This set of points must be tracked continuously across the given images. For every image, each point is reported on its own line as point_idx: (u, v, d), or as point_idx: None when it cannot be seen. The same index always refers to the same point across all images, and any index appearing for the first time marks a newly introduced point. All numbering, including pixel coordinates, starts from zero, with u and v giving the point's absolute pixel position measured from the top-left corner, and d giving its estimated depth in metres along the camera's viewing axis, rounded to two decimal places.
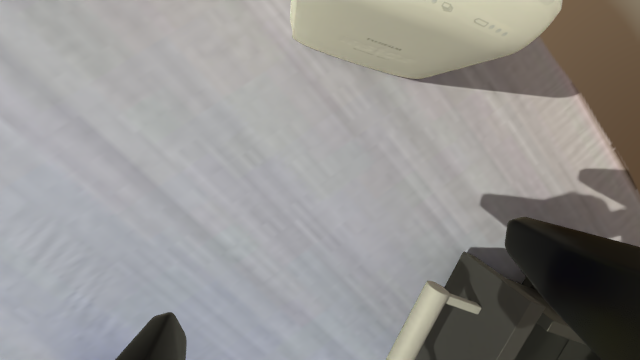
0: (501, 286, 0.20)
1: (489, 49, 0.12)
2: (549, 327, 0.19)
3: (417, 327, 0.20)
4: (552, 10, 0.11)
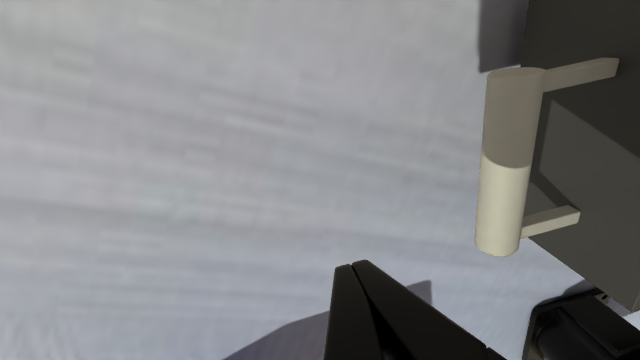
0: None
1: None
2: None
3: (507, 163, 0.10)
4: None
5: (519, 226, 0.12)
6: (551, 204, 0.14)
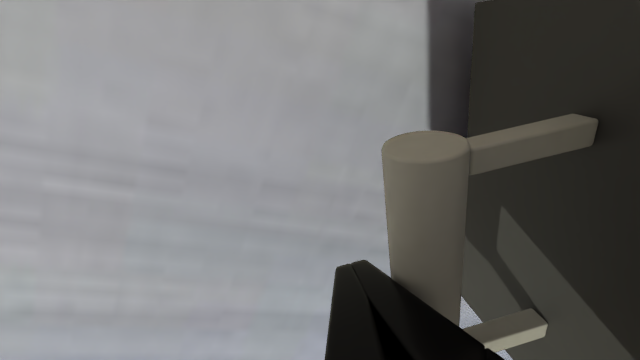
0: None
1: None
2: None
3: (418, 283, 0.06)
4: None
5: None
6: (511, 297, 0.10)
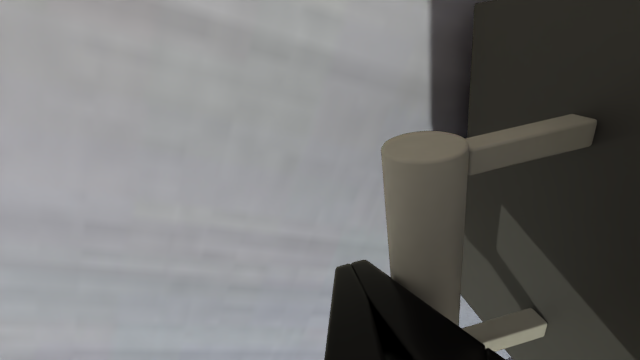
0: None
1: None
2: None
3: (417, 283, 0.06)
4: None
5: None
6: (510, 297, 0.10)
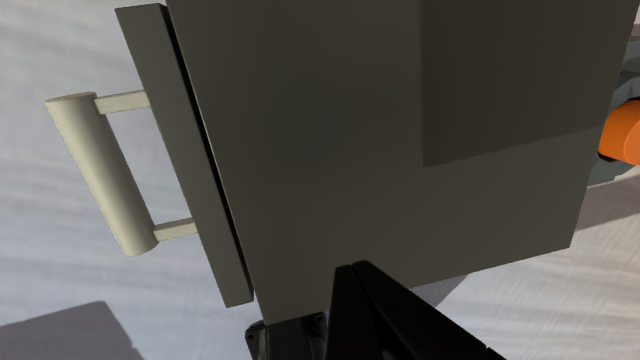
0: None
1: None
2: None
3: (83, 174, 0.12)
4: None
5: (132, 229, 0.13)
6: None
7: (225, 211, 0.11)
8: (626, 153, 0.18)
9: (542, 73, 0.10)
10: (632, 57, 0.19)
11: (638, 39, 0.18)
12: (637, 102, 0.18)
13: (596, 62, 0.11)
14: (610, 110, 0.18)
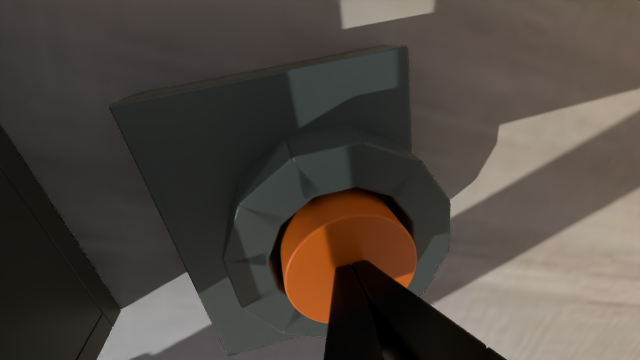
0: None
1: None
2: None
3: None
4: None
5: None
6: None
7: None
8: (301, 311, 0.08)
9: None
10: (352, 95, 0.09)
11: (355, 56, 0.08)
12: (327, 196, 0.08)
13: None
14: (273, 225, 0.08)
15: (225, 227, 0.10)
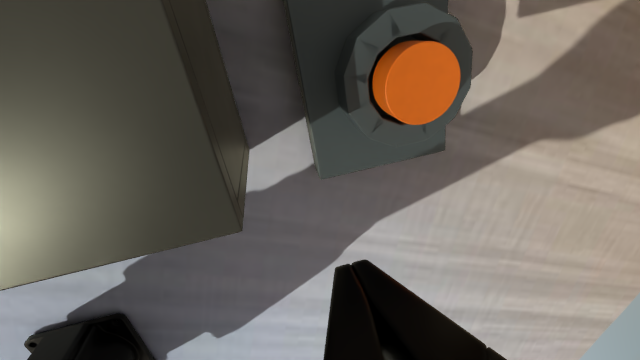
0: None
1: None
2: None
3: None
4: None
5: None
6: None
7: None
8: (392, 109, 0.14)
9: None
10: None
11: None
12: (407, 42, 0.14)
13: None
14: (373, 54, 0.14)
15: (333, 74, 0.16)
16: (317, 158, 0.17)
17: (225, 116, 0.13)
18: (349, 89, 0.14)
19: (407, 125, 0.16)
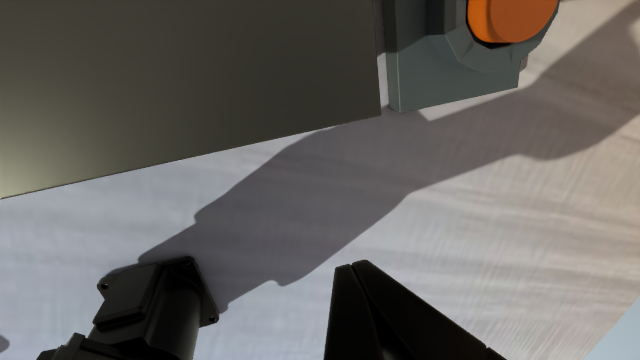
0: None
1: None
2: None
3: None
4: None
5: None
6: None
7: None
8: (494, 23, 0.14)
9: None
10: None
11: None
12: None
13: None
14: None
15: (424, 0, 0.16)
16: (399, 90, 0.18)
17: None
18: (448, 8, 0.15)
19: (496, 50, 0.16)
